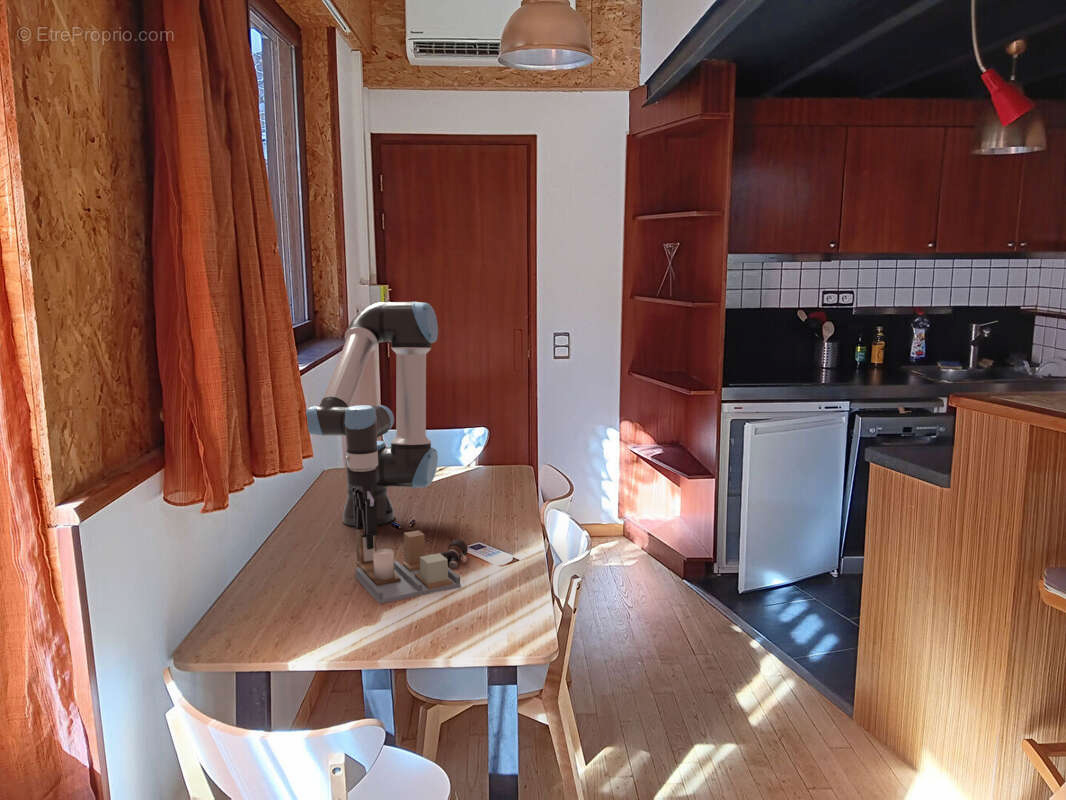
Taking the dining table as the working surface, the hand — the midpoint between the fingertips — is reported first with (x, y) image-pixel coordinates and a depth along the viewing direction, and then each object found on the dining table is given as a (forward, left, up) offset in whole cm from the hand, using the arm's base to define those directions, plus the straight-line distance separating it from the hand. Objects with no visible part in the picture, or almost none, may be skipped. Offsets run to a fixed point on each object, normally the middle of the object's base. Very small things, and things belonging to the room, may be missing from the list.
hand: (366, 557), depth 213 cm
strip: (+7, 0, -1) cm, 8 cm away
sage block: (+21, +10, 0) cm, 23 cm away
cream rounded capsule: (+14, 0, 0) cm, 14 cm away
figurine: (+8, +21, -3) cm, 22 cm away
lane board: (+16, +5, -2) cm, 17 cm away
